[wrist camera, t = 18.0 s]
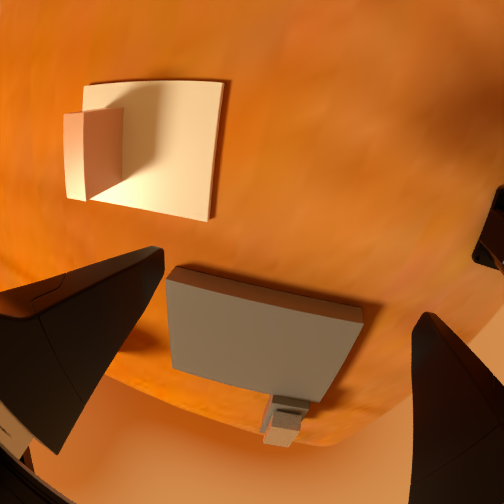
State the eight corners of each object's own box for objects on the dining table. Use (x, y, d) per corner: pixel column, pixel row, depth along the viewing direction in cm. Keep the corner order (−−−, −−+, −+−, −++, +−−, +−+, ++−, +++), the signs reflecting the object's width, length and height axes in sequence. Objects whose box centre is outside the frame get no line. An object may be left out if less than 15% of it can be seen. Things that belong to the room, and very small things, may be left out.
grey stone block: (301, 415, 26) (299, 431, 24) (290, 433, 29) (288, 447, 27) (274, 410, 26) (271, 426, 25) (265, 428, 29) (262, 442, 27)
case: (361, 308, 22) (365, 332, 20) (301, 419, 32) (298, 438, 30) (175, 266, 24) (160, 285, 21) (182, 391, 34) (174, 408, 31)
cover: (226, 83, 17) (195, 76, 12) (211, 216, 22) (182, 250, 17) (91, 85, 18) (44, 89, 13) (91, 194, 23) (50, 217, 18)
